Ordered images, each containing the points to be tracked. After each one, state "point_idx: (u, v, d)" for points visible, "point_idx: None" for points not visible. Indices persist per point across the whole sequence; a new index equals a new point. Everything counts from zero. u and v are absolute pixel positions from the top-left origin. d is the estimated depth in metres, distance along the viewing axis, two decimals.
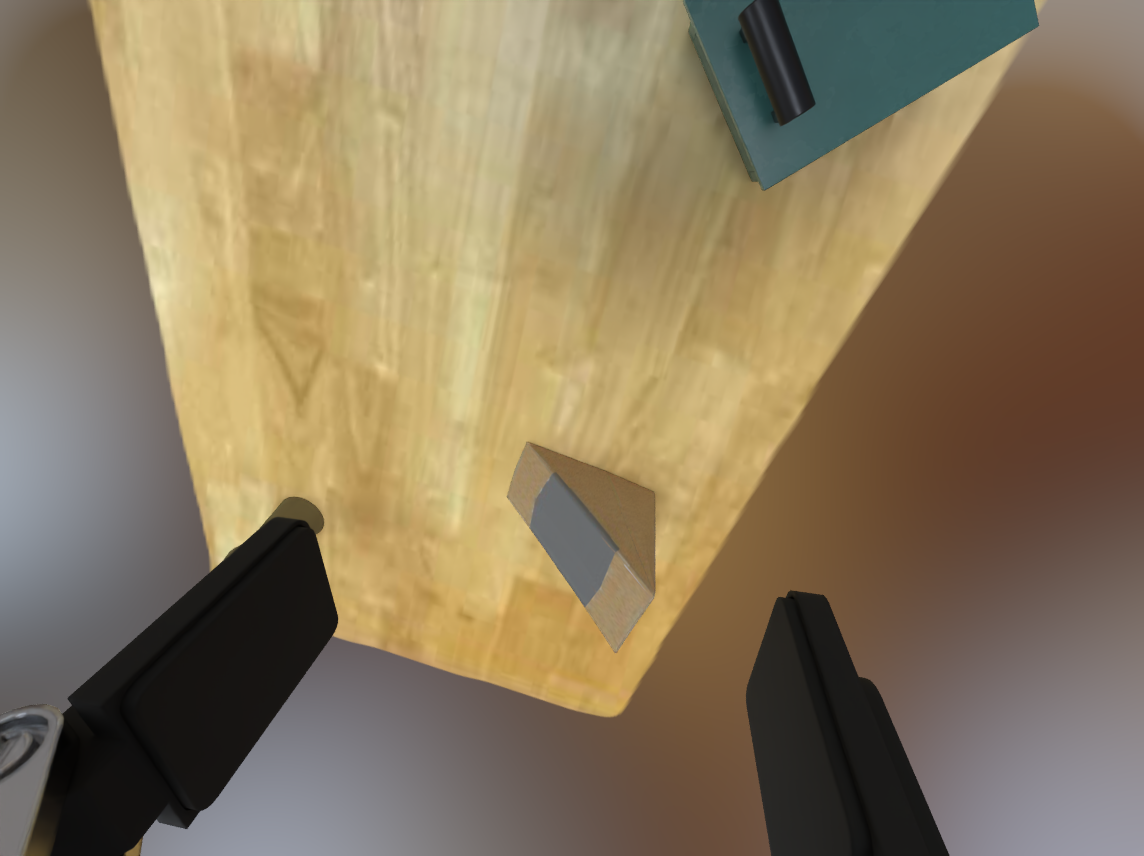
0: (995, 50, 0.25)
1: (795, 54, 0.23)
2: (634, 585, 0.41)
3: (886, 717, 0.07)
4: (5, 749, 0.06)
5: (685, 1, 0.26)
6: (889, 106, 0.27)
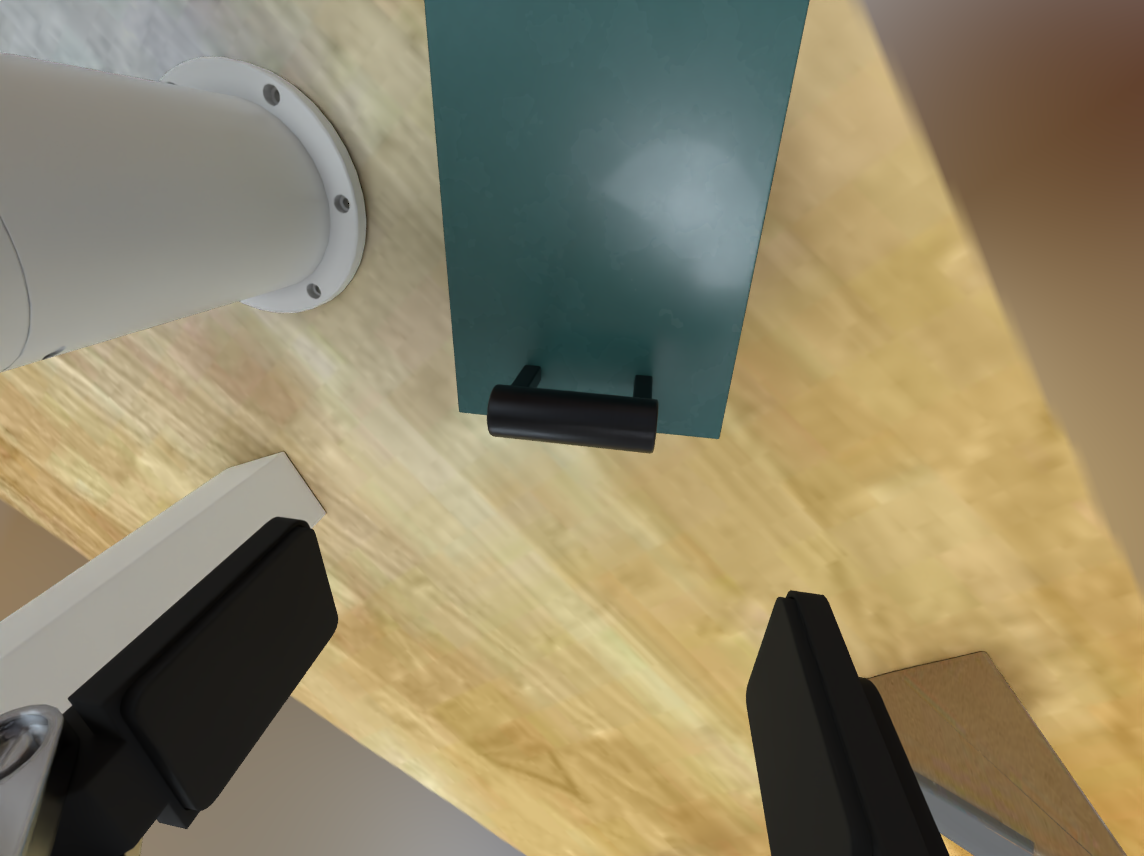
0: (793, 65, 0.14)
1: (578, 408, 0.15)
2: None
3: (887, 717, 0.07)
4: (5, 749, 0.06)
5: (463, 411, 0.21)
6: (745, 250, 0.16)
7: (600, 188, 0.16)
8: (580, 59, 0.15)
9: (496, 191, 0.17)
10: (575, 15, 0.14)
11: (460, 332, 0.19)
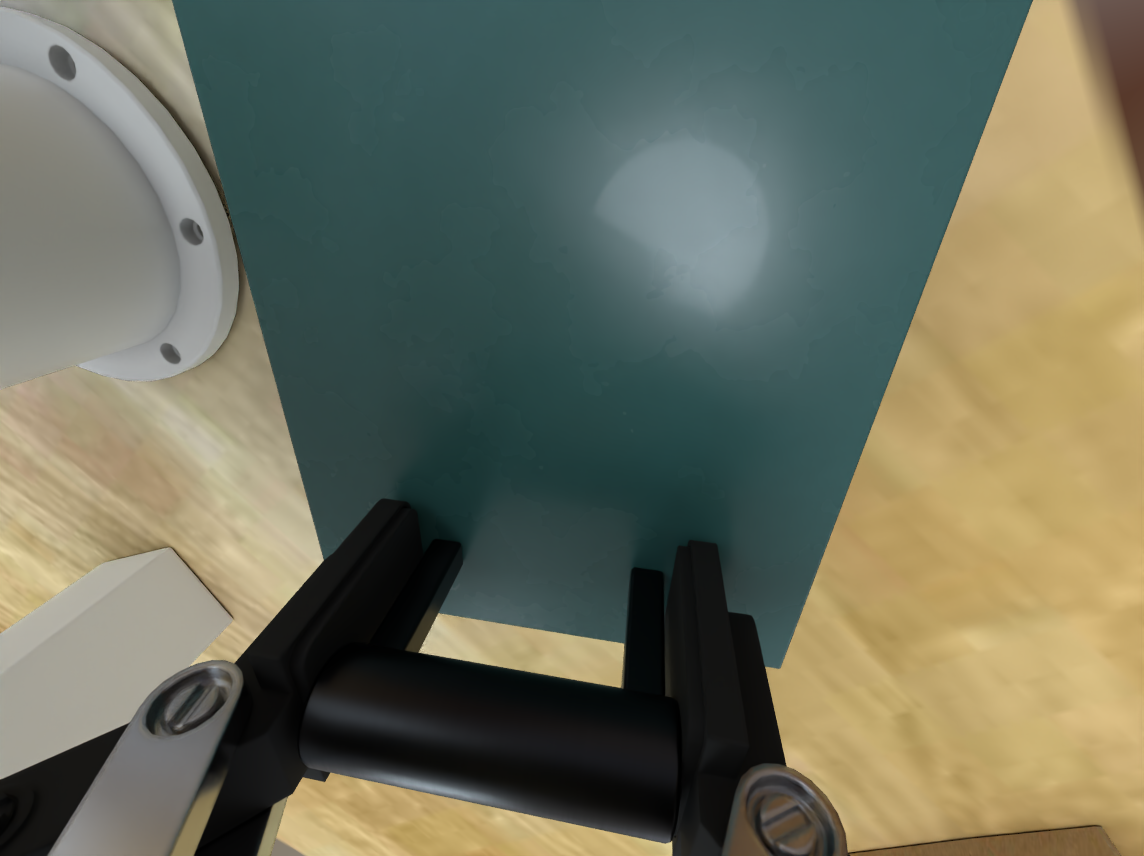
0: None
1: (498, 749, 0.07)
2: None
3: (757, 643, 0.08)
4: (196, 698, 0.07)
5: None
6: (866, 369, 0.08)
7: (557, 237, 0.07)
8: None
9: (344, 239, 0.08)
10: None
11: (315, 481, 0.11)
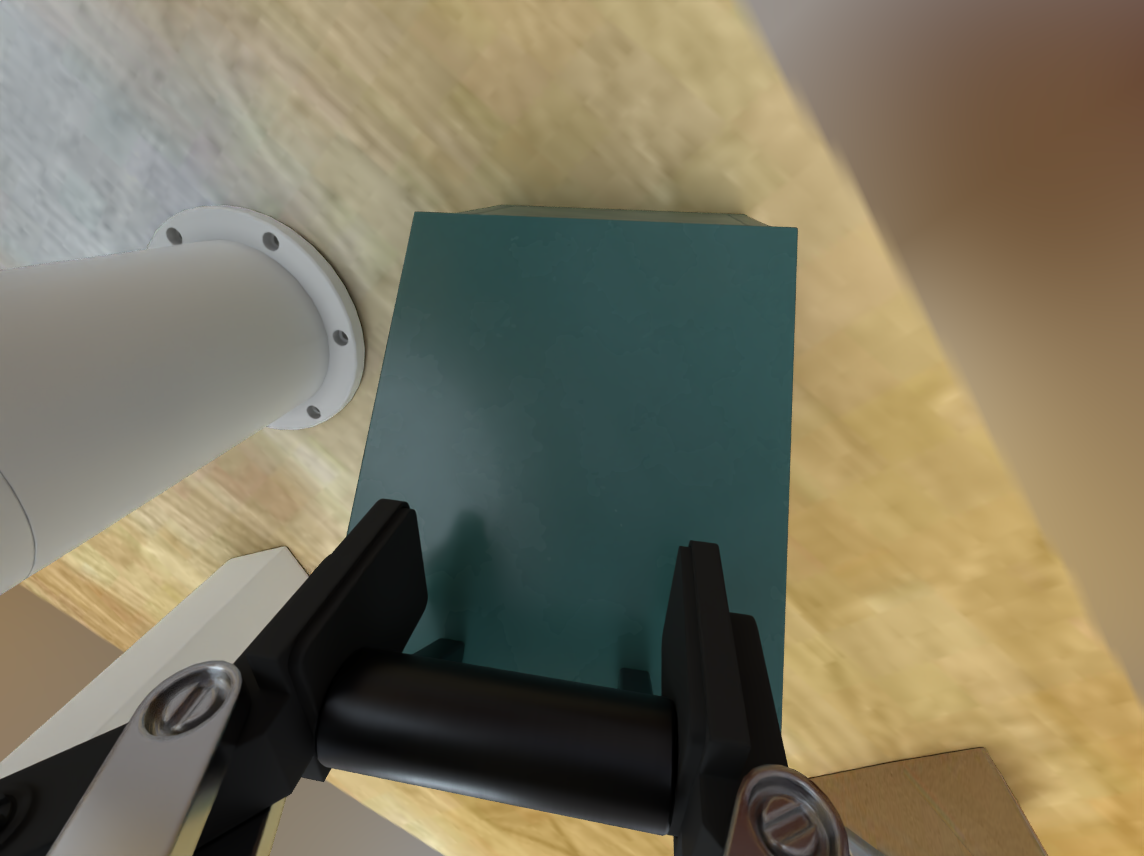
0: (793, 291, 0.13)
1: (513, 702, 0.07)
2: None
3: (759, 644, 0.08)
4: (194, 698, 0.07)
5: None
6: (773, 478, 0.12)
7: (578, 395, 0.13)
8: (563, 275, 0.14)
9: (447, 391, 0.13)
10: (561, 241, 0.14)
11: None
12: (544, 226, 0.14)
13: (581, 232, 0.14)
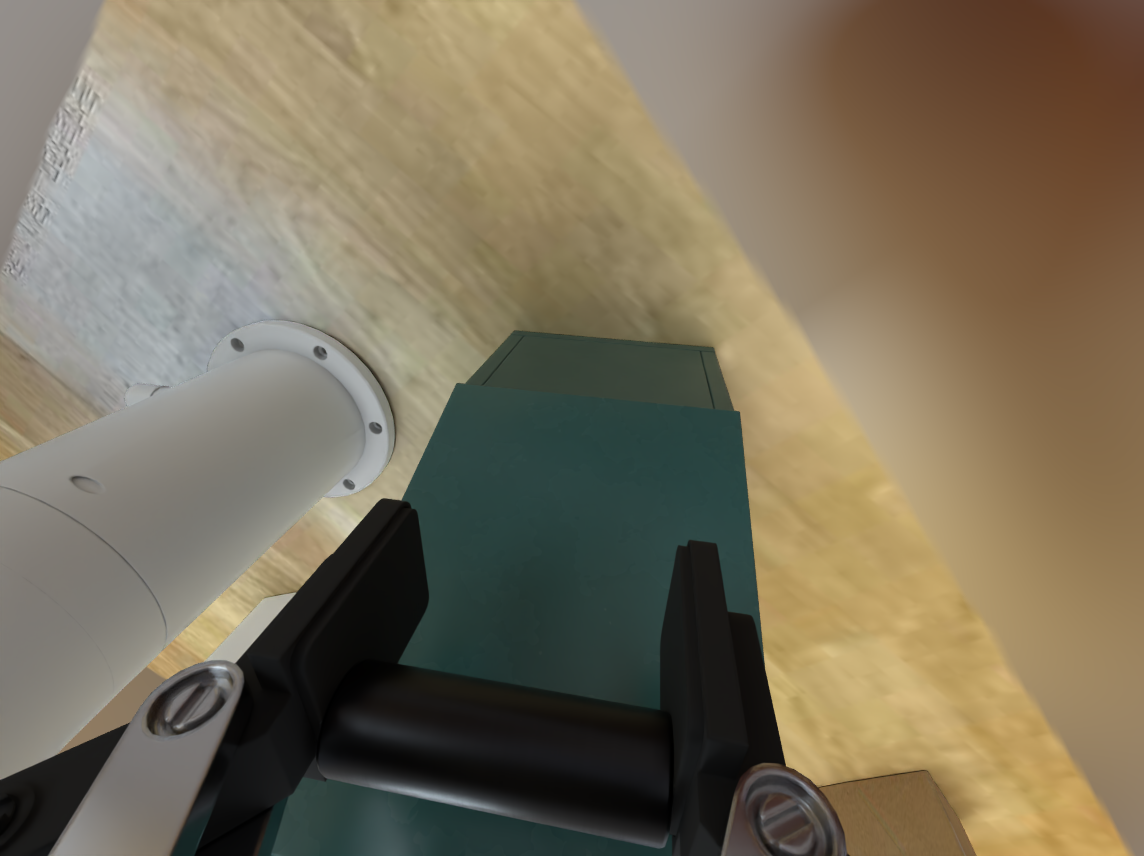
0: (741, 450, 0.17)
1: (520, 693, 0.08)
2: None
3: (757, 643, 0.08)
4: (197, 698, 0.07)
5: None
6: (742, 586, 0.14)
7: (574, 512, 0.15)
8: (567, 429, 0.18)
9: (462, 504, 0.16)
10: (566, 408, 0.18)
11: None
12: (554, 398, 0.19)
13: (581, 403, 0.18)
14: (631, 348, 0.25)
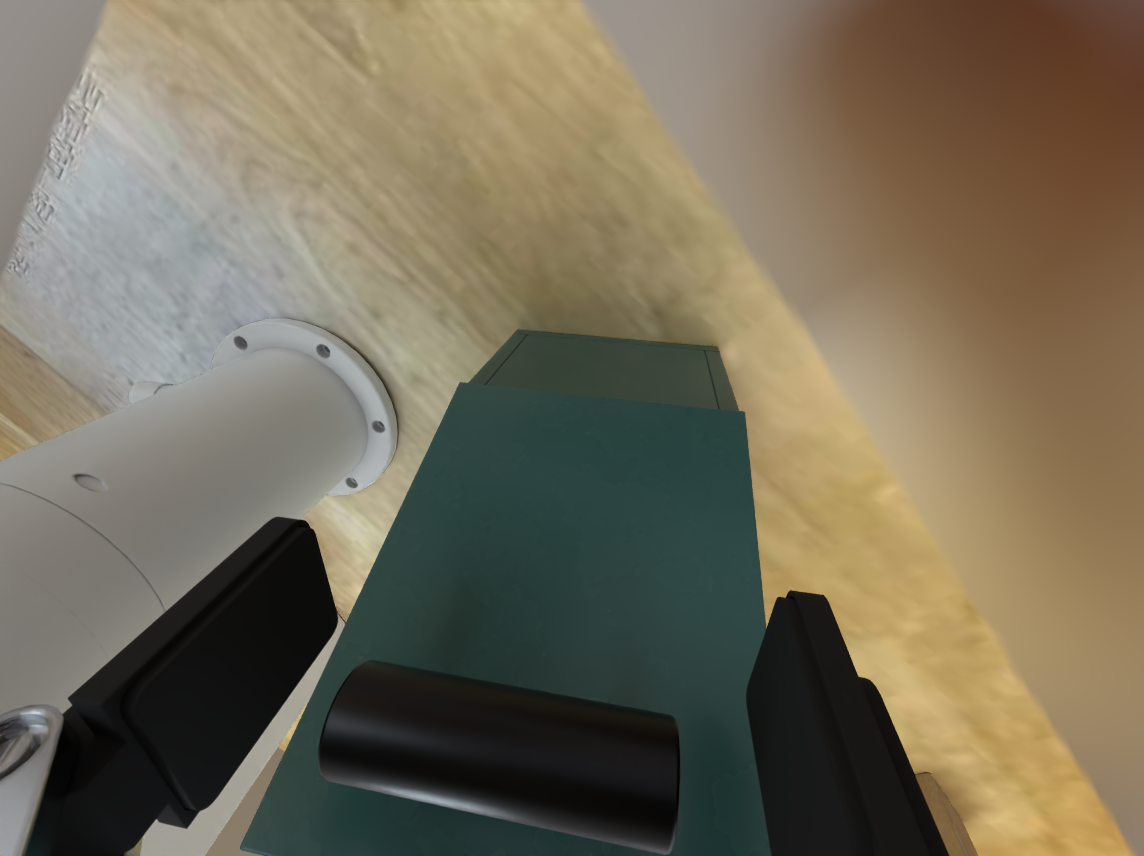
0: (746, 450, 0.17)
1: (524, 696, 0.08)
2: None
3: (886, 717, 0.07)
4: (5, 749, 0.06)
5: (248, 849, 0.10)
6: (747, 588, 0.13)
7: (578, 513, 0.15)
8: (570, 428, 0.18)
9: (465, 504, 0.15)
10: (570, 408, 0.18)
11: (339, 665, 0.12)
12: (557, 397, 0.19)
13: (585, 403, 0.18)
14: (635, 347, 0.25)
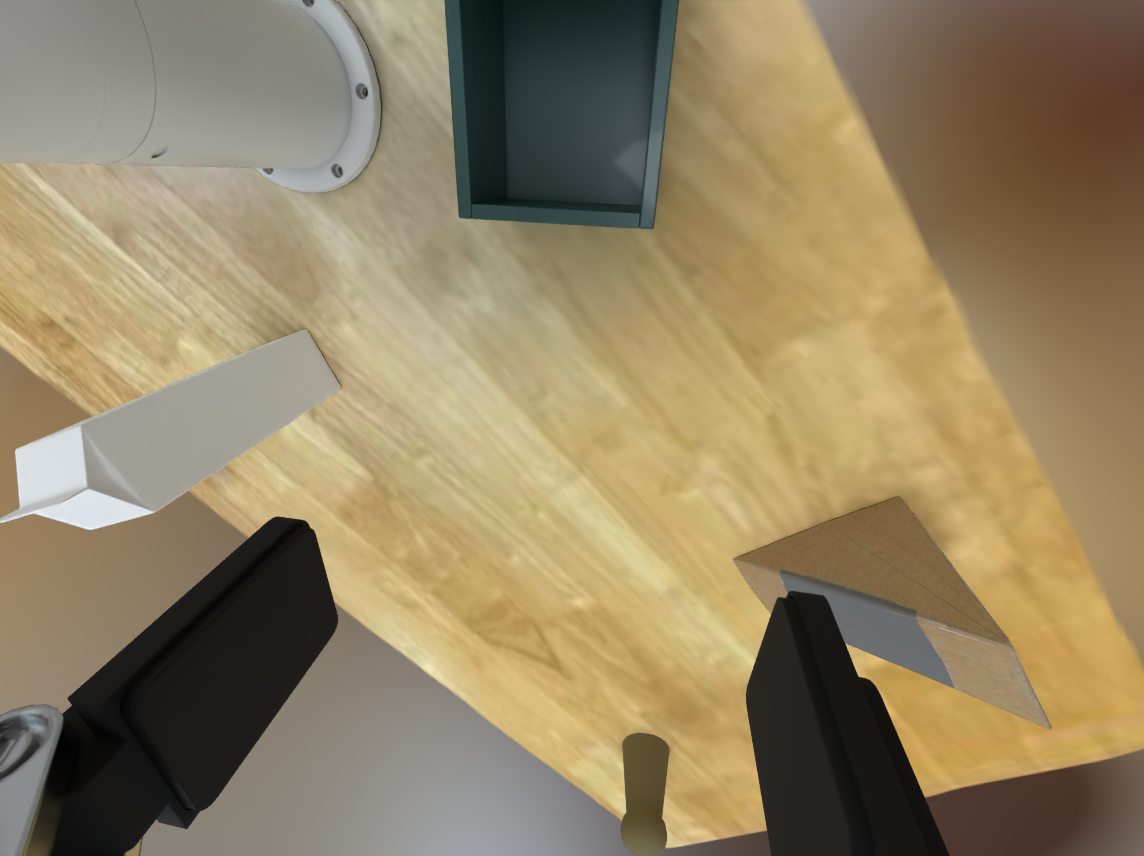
0: None
1: None
2: (976, 645, 0.29)
3: (886, 717, 0.07)
4: (5, 749, 0.06)
5: None
6: None
7: None
8: None
9: None
10: None
11: None
12: None
13: None
14: None
